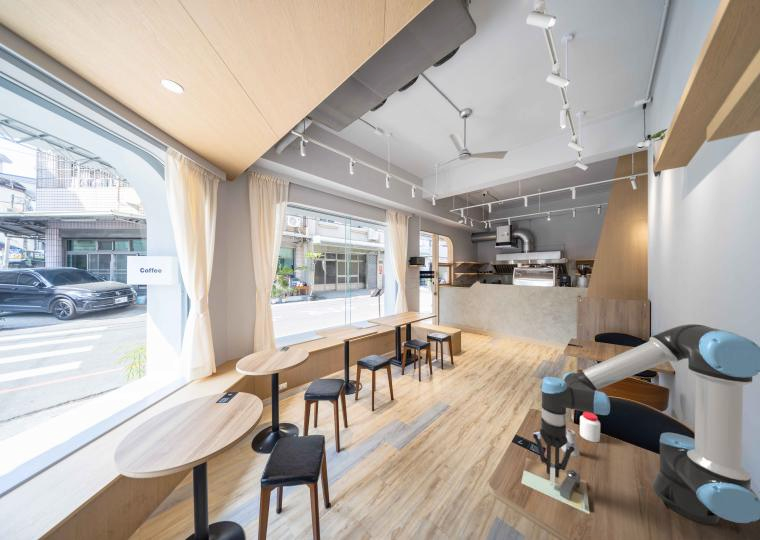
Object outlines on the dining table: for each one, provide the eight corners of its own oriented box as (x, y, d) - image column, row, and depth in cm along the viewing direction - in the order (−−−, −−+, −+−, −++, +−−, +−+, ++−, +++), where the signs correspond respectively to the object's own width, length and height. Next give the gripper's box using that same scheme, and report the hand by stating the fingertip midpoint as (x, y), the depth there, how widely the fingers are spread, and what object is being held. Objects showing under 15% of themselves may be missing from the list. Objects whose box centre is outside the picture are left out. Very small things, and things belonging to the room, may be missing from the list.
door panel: (587, 500, 90) (587, 492, 90) (589, 517, 84) (589, 509, 84) (523, 472, 102) (523, 466, 102) (521, 486, 95) (521, 478, 95)
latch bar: (568, 476, 99) (568, 466, 99) (581, 483, 96) (581, 472, 95) (558, 493, 91) (558, 482, 91) (571, 502, 88) (571, 490, 88)
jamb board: (585, 484, 97) (586, 481, 97) (587, 499, 90) (587, 496, 90) (526, 460, 108) (526, 457, 108) (523, 472, 102) (523, 469, 102)
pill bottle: (581, 429, 130) (582, 408, 130) (601, 437, 124) (601, 415, 124) (577, 436, 125) (578, 414, 125) (598, 444, 119) (598, 421, 119)
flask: (584, 460, 109) (584, 437, 109) (565, 458, 110) (565, 435, 110) (574, 449, 116) (575, 427, 116) (557, 446, 117) (557, 425, 117)
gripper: (575, 422, 93) (574, 485, 93) (534, 410, 101) (533, 468, 101) (575, 432, 87) (574, 500, 87) (532, 419, 95) (531, 481, 95)
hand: (552, 483), depth 94 cm, fingers closed
